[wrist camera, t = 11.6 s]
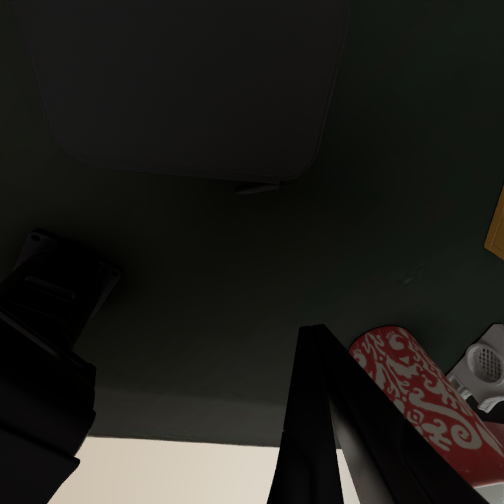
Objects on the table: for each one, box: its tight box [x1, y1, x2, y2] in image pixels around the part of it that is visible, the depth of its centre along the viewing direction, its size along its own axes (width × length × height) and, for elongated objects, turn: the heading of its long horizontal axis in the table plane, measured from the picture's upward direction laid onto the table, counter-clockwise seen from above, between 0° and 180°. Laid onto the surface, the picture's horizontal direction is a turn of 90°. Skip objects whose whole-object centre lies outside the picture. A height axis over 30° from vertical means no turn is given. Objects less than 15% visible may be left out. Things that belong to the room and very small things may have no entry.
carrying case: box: [11, 0, 350, 195], centre depth 14 cm, size 11×3×15 cm
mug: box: [349, 326, 504, 504], centre depth 25 cm, size 13×9×14 cm
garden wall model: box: [446, 324, 504, 413], centre depth 30 cm, size 12×2×6 cm, turn 173°
